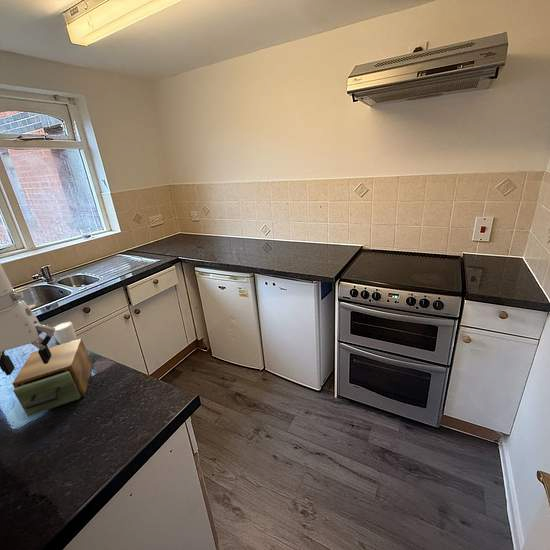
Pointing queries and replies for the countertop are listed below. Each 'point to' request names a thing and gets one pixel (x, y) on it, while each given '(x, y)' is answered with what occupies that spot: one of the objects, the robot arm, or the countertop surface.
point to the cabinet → (59, 364)
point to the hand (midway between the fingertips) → (29, 365)
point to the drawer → (47, 392)
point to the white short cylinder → (64, 332)
